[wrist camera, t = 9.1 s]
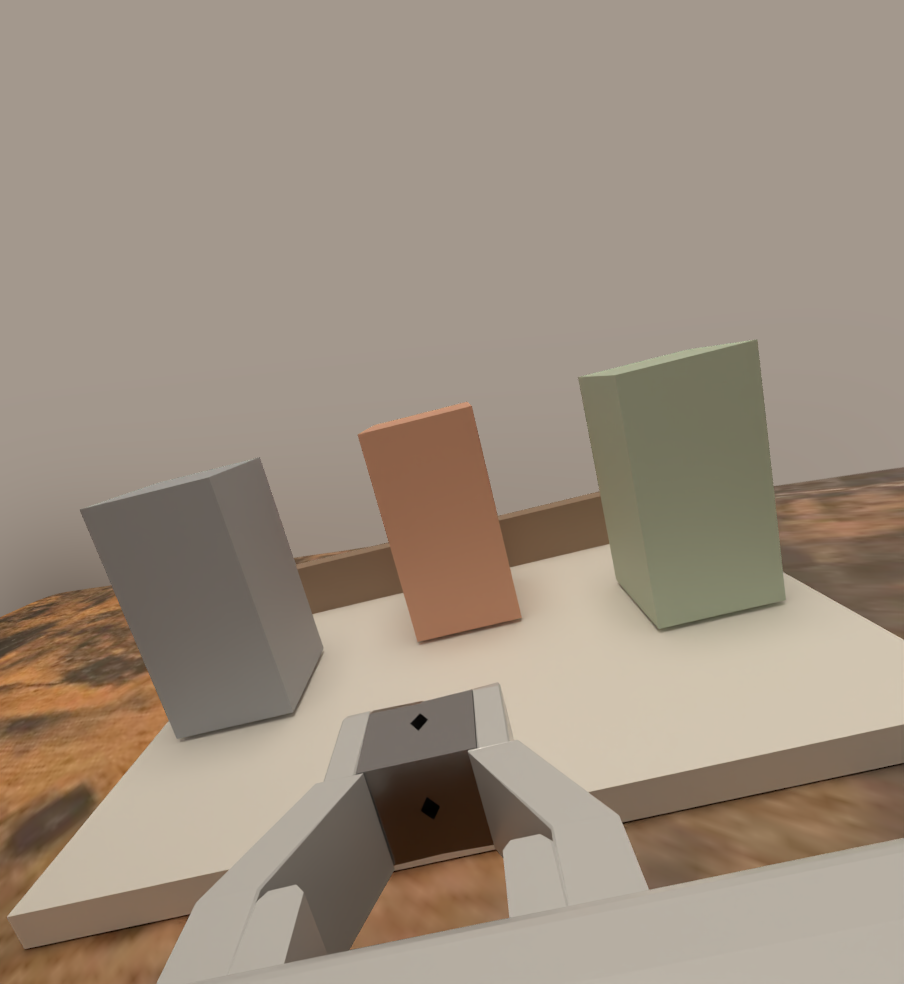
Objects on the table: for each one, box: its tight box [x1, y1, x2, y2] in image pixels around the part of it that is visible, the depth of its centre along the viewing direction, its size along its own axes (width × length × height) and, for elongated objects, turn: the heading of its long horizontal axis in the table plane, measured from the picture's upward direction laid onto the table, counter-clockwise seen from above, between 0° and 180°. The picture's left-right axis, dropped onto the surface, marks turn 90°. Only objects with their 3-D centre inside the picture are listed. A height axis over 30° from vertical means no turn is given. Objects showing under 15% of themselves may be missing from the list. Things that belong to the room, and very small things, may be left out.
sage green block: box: [578, 340, 786, 629], centre depth 21 cm, size 5×5×10 cm
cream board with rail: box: [7, 491, 904, 949], centre depth 22 cm, size 28×19×4 cm
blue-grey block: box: [80, 458, 323, 739], centre depth 22 cm, size 5×5×10 cm
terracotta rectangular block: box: [358, 402, 522, 642], centre depth 24 cm, size 5×5×10 cm
